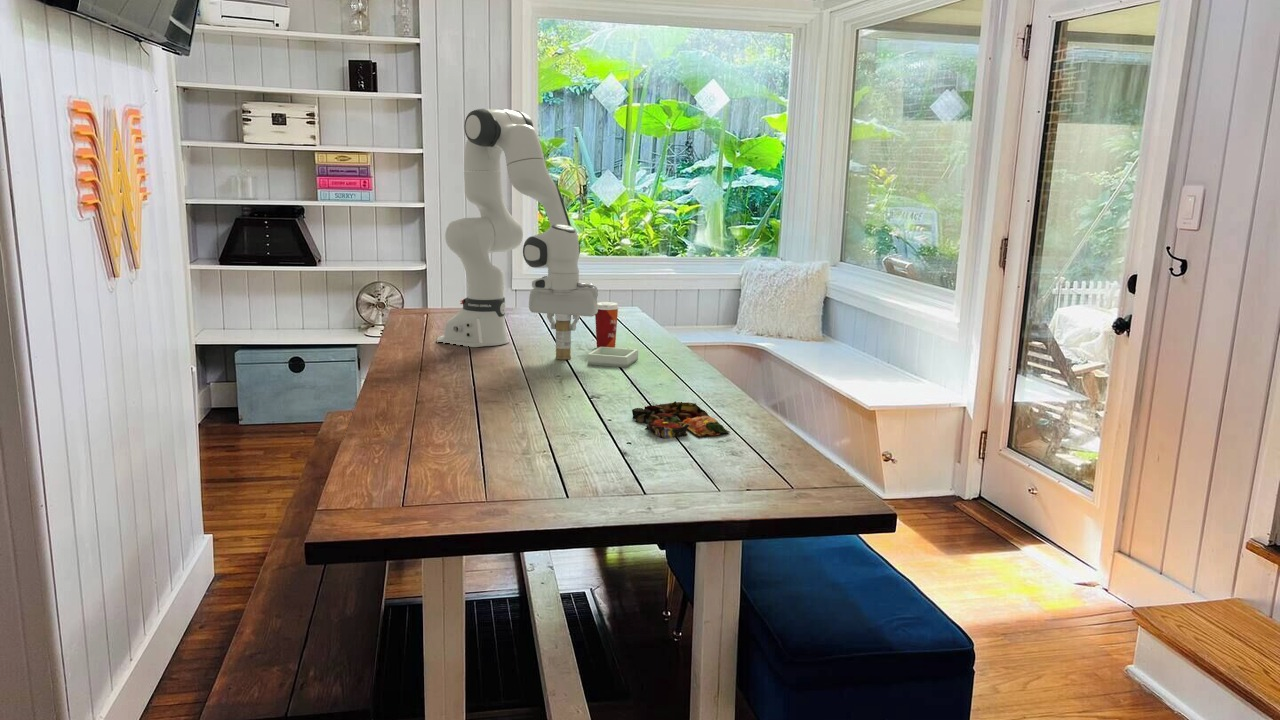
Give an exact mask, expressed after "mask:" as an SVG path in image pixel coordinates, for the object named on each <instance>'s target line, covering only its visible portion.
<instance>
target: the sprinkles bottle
mask: <svg viewBox="0 0 1280 720" xmlns="http://www.w3.org/2000/svg"><path fill="white" fill-rule="evenodd" d="M554 316H555V320H554V321H555V322H556V329H555V359H557V360H561V361H566V360H570V359H571V358H572V356H571V348H572V347H571V346H572V330H569V328H570V327H569V324H572V323H571V320H572V315H564V314H554Z"/></svg>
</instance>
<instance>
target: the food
mask: <svg viewBox="0 0 1280 720" xmlns="http://www.w3.org/2000/svg"><path fill="white" fill-rule="evenodd" d="M631 412H632V419H633V420H634V422H635V423H637V424H644V425H646V426H645V428H644V430H648V431H650V432H651V433H652V434H653V435H654V436H655V439H656V440H657V439H658V438H659V439H662V440H665V439H666V440H667V439H674V438H681V437H682V438H683V437H687V436H688V435H689V433H691V434H692V435H694V436H695V437H697V438H698V439H700V438H707V437H715V436H721V434H722V433H723V434H725V433H727V434H729V433H731V431H729V430H728V429H726V428H725V427H724V425H722V424H720V422H719V421H718V420H717V419H715V417H712V416H710V415H709V414H708V413H707V411H705V410H704V409H702V408H701V407H700V405H699V406H698V405H697V404H696V402H694V403H693V402H689V401H688V402H683V401H673V402H669V403H660V404H657V403H656V404H655V405H651V404H650V405H646V406H644V408H643V407H635V408H633V409H631ZM687 431H688V432H687Z"/></svg>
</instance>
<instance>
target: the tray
mask: <svg viewBox="0 0 1280 720" xmlns="http://www.w3.org/2000/svg"><path fill="white" fill-rule="evenodd" d="M638 360H639V349H637V348H625V347H624V348H623V347H615V348H612V347H599V348H597V347H596V348H595V349H593V350H592V351H591V352H589V353H587V365H591V366H602V367H613V368H628V367H630V366H631V365H632V364H633V363H635V362H637V361H638Z"/></svg>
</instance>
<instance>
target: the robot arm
mask: <svg viewBox="0 0 1280 720" xmlns="http://www.w3.org/2000/svg"><path fill="white" fill-rule="evenodd" d="M464 133H465V136H466V139H467V140H466V142H465V147H464V156H463V157H464V158H463V171H464V172H463V177H464V181H463V182H464V195H465V197H466V199H467V200H468V201H469V202H470V203H471V204H472V205H475V206H476V207H477V208H478V211H479V214H480V217H463V218H459V219H455V220H452V221H450V222H449V224H448V225H447V227H446V230H445V235H444V237H445V243H446V245H447V247H448V248H449V249H450V251H452V252H453V253H455V255H457V257H458V258H459V259H460V261H461V262H462V265H463V267H464V270H465V274H466V282H467V285H466V286H467V297H466V298H463V299H462V300H460V305H462V309H461V310H460V311H458V312H457V313H456V314H455V315H453V316H452V317H451V318H449V319H448V320H447V321H446V322H445V326H444V329H443V330H444V331H443V335H440V336H438V337H437V339H436V342H437V343H438V342H443V343H442V344H445V343H450V344H449V345H453V344H456V345H455V346H460V345H463V347H468V346H469V347H468V348H479V347H492V346H493V347H495V346H501V345H506V344H508V343H509V342H510V338H509V335H508V333H507V332H508V331H507V326H506V319H505V318H506V317H505V315H506V298H505V297H504V274H503V272H502V271H501V269H500V268H498V267H497V266H495V265H493V264H492V262H491V261H490V258H489V254H493V253H494V254H495V253H505V252H508V251H512V250H515V249H517V248H519V246H520V245H521V243H522V242H523V236H524V233H523V228H522V225H521V223H520V222H519V221H518V220H517V219H516V218H514V217H513V216H512V214H511V213H510V212H509V210H508V208H507V205H506V203H505V200H504V196H503V187H502V186H503V185H502V172H501V171H502V168H501V155H502V153H504V155H505V156H504V157H505V162H506V168H507V174H508V178H509V181H510V183H511V185H512V187H513V188H514V189H515V190H517V191H518V192H519V193H520V194H522V195H525V196H527V197H529V198H531V199H534V200H535V201H536V202H538V203H539V204H540V205H541V206H542V207H543V208H544V210H545V212H546V216H547V219H548V221H549V225H550V227H548V229H546V231H543V232H541V233H539V234H536V235H532V236H529V237H527V239H525V241H524V243H523V245H522V246H523V247H522V256H523V259H524V261H525V263H526V264H527V265H528V266H529V267H531V268H534V269H545V268H546V269H547V270H548V271H547V275H546V276H542V277H539V278H536V279H534V280H533V281H532V282H531V287H532V289H531V290H530V293H529V296H528V297H529V298H528V309H529V311H530V312H531V313H533V314H535V313H536V314H546V318H547V320H548V321H549V323H550V329H551V330H556V320H554V316H555V314H564V315H571V316H572V320H573V321H572V323H571V324H569V327H570V328H569V330H571V332H572V331H573V332H574V331H575V332H576V329H577V328H576V326H577V323H578V322H579V320H580V317H595V315H596V314H597V312H598V304H597V303H598V297H599V296H598V295H599V293H598V292H599V290H598V288H597V287H596V286H595V285H594V284H592V283H582V282H580V281H579V280H580V279H579V277H580V275H579V274H580V271H579V265H578V262H579V258H580V254H581V245H580V243H579V237H578V232H577V229H576V228H574V227H573V226H572V225H571V222H570V217H569V216H568V215H569V214H568V210H567V208H566V206H565V202H564V199H563V196H562V194H561V190H560V189H559V186H558V185H557V183H556V182H555V181H554V180H553V179H552V177H551V175H550V173H549V170H548V168H547V166H546V165H547V164H546V161H545V158H544V157H545V156H544V152H543V148H542V145H541V142H540V141H541V140H540V139H539V136H538V134H537V132H536V129H535V128H534V124H533V121H532V119H531V117H530V116H529V115H528V114H527V113H526V112H525V113H524V112H522V111H519V110H512V109H506V108H490V109H486V108H478V109H473V110H472V111H470V112H469V113H468V114H467V116H466V117H465V120H464Z"/></svg>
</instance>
